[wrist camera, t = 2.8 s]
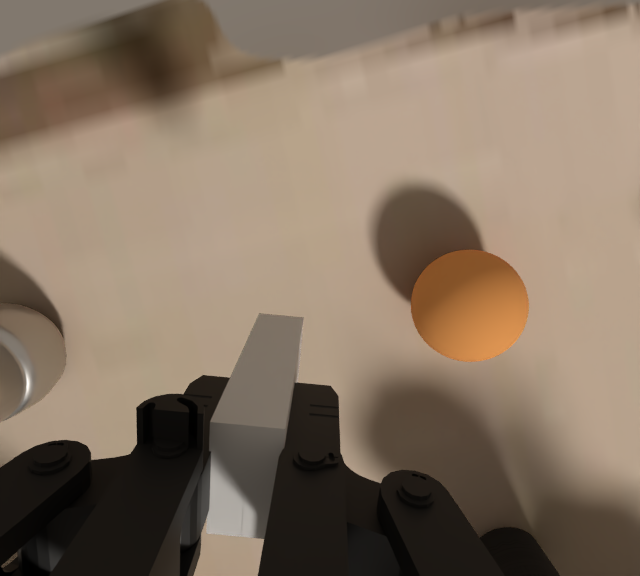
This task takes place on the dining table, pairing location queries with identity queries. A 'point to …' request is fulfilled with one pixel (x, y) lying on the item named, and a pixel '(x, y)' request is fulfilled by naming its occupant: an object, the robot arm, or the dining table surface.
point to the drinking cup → (517, 553)
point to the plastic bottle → (27, 358)
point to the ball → (469, 305)
